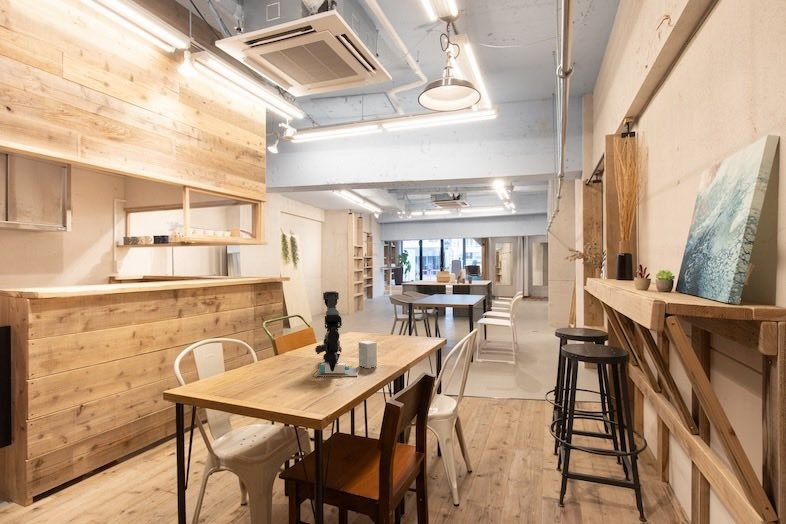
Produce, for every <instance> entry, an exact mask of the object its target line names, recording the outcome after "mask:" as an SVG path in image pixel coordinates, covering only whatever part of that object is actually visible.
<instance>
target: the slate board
mask: <svg viewBox="0 0 786 524" xmlns="http://www.w3.org/2000/svg"><path fill="white" fill-rule="evenodd" d="M360 372H361V367H360V366H358V367H350V366H349V370H346V371H345V373H320V367H319V368H318V369H317V371H316V372H315V373H314V375H313V377H314V378H318V377H317V376H323V377H322V378H327V377H326V376H357V375H359V374H360ZM358 373H359V374H358ZM324 376H325V377H324ZM357 377H358V376H357Z"/></svg>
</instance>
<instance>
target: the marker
mask: <svg viewBox="0 0 786 524" xmlns="http://www.w3.org/2000/svg"><path fill="white" fill-rule="evenodd" d="M346 364H347V363H346V362H337V363H336V365H335V368H334V371H331V369H330V365H329V362H321V364H319V368H320V373H345V371H346V370H349V367H350V366H347V365H346Z"/></svg>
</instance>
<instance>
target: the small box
mask: <svg viewBox="0 0 786 524" xmlns="http://www.w3.org/2000/svg"><path fill="white" fill-rule="evenodd" d="M377 350H378V348H377V342H375V341H371V340H364V341H358V367H360V366H362V367H361V368H363V367H365V368H364V369H366V368H369V369H372V368H371V367H374V368H376V367H375V366H377V367H378V362H377V361H378V360H377V357H378V355H377V354H378V353H377Z"/></svg>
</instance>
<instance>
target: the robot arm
mask: <svg viewBox="0 0 786 524" xmlns="http://www.w3.org/2000/svg"><path fill="white" fill-rule="evenodd" d="M339 293H340V292H337V291H335V290H334V291H333V290H330V291H329V290H328V291H327V290H326V291H325V292H323V293H322V294H323V295H322V300H323V301H324V302H323V303H324V305H325V306H326V309H327V310H326V311H325V315H324V329H326V333H325V334H324V339H323V344H319V345H316V347H314V349H315V351H314V352H316V355H320V354H321V353H324V352H325V353H324V354H323V356H322V359H323V360H324V362H327V363H329V365H330V369H331V371H334V368H335V365H336V363H339V362H338V361H339V359H340V356H341V353H342V352H343V349H342V346H341V344H340V342H341V341H340V333H339V329H341V326H343V324H342V317H341V315H340V313H339V310H338V309H337V304H338V300H339V298H340V295H339ZM323 360H322V361H323Z"/></svg>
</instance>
